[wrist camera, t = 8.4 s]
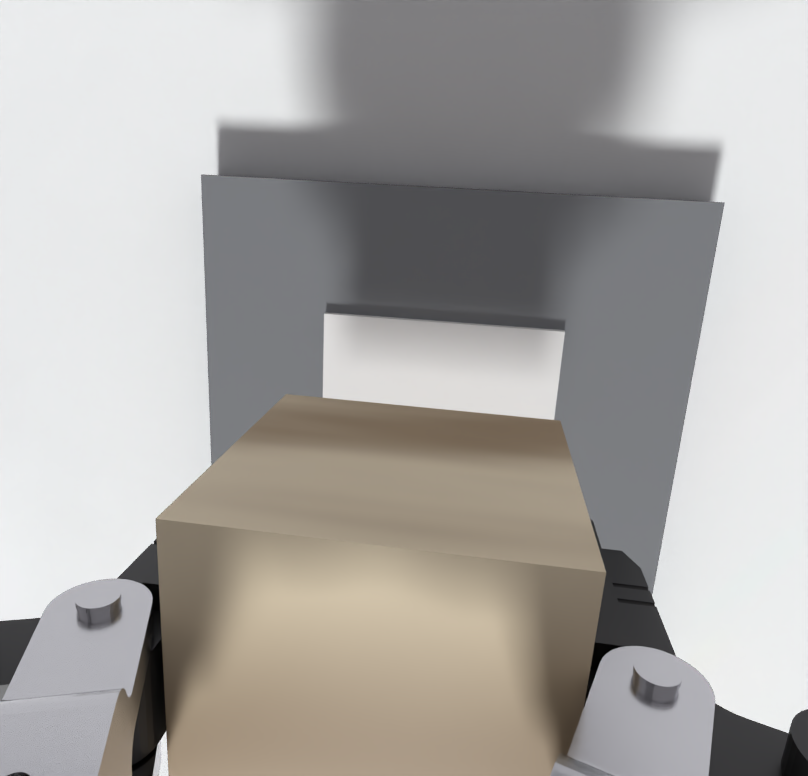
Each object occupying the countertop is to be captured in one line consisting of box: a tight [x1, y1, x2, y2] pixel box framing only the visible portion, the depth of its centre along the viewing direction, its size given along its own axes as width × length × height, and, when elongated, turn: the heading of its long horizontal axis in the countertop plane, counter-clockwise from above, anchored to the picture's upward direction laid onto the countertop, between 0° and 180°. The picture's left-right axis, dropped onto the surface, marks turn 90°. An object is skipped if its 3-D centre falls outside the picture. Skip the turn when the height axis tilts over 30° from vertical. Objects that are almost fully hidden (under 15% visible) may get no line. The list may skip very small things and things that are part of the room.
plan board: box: [201, 175, 724, 595], centre depth 17 cm, size 12×12×1 cm
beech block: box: [156, 394, 606, 776], centre depth 10 cm, size 5×5×5 cm
